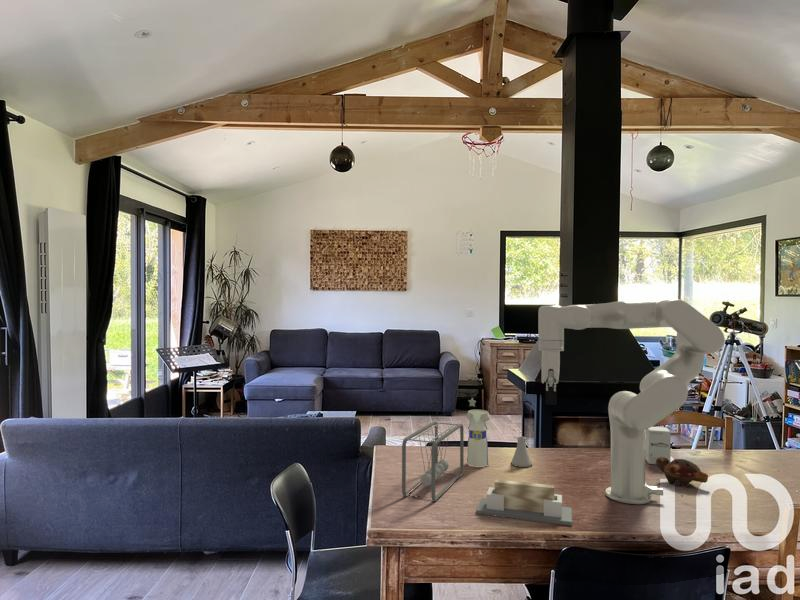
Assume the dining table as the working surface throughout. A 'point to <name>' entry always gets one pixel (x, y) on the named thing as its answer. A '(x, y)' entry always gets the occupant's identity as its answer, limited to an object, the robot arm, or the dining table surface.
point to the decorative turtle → (681, 471)
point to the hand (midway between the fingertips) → (551, 401)
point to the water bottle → (477, 436)
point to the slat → (524, 495)
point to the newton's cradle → (433, 457)
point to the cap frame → (551, 511)
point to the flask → (521, 454)
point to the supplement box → (657, 444)
